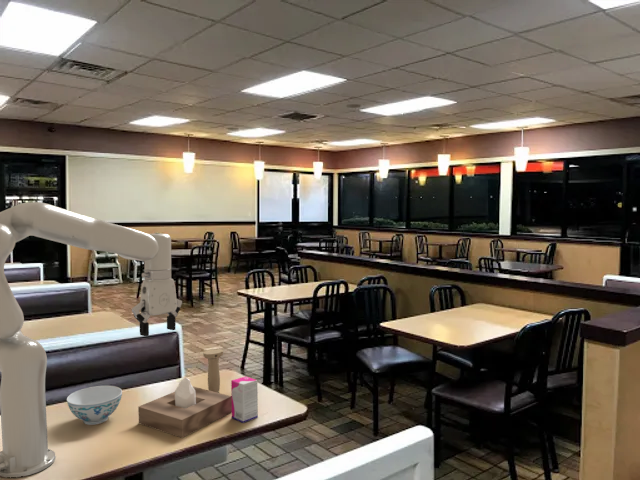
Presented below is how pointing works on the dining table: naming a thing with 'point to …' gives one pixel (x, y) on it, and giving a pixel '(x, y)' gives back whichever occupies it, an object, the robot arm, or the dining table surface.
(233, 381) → the supplement box
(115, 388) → the chinaware
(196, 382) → the dining table surface
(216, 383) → the handle
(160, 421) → the well block
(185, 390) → the white rounded piece
